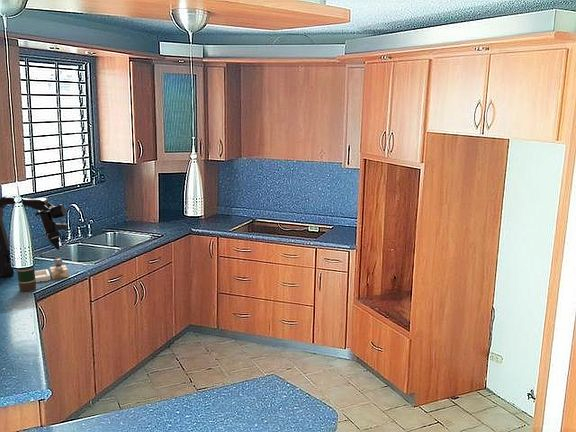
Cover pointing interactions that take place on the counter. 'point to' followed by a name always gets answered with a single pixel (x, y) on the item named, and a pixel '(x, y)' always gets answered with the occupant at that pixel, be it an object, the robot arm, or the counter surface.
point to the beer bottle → (26, 279)
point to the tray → (42, 275)
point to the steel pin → (58, 263)
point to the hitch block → (59, 272)
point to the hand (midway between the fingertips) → (57, 248)
